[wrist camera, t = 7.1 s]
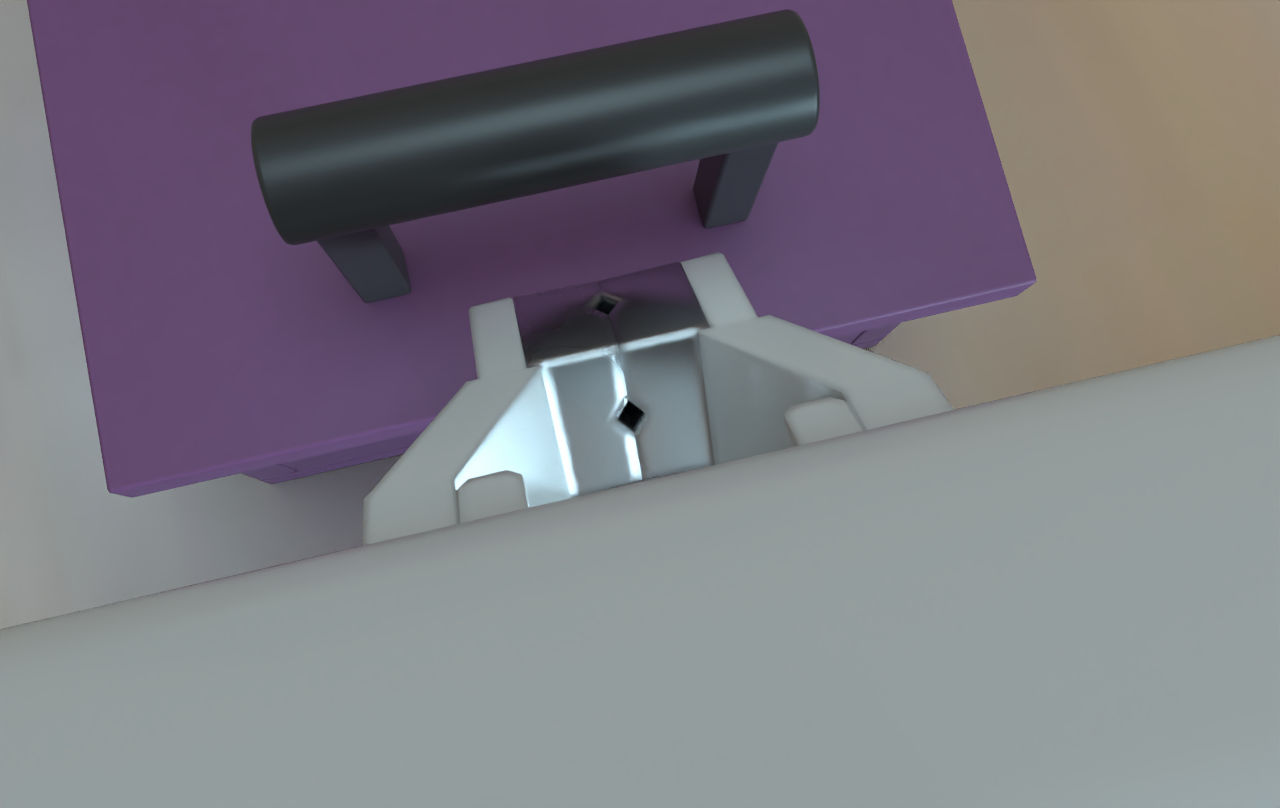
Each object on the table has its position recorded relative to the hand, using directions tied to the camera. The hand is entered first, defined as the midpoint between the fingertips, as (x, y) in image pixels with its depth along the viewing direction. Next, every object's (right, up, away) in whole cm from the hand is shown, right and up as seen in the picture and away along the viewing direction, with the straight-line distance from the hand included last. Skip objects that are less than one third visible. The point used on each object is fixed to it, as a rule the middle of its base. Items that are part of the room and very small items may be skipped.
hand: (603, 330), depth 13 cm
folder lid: (-2, +8, +5) cm, 9 cm away
